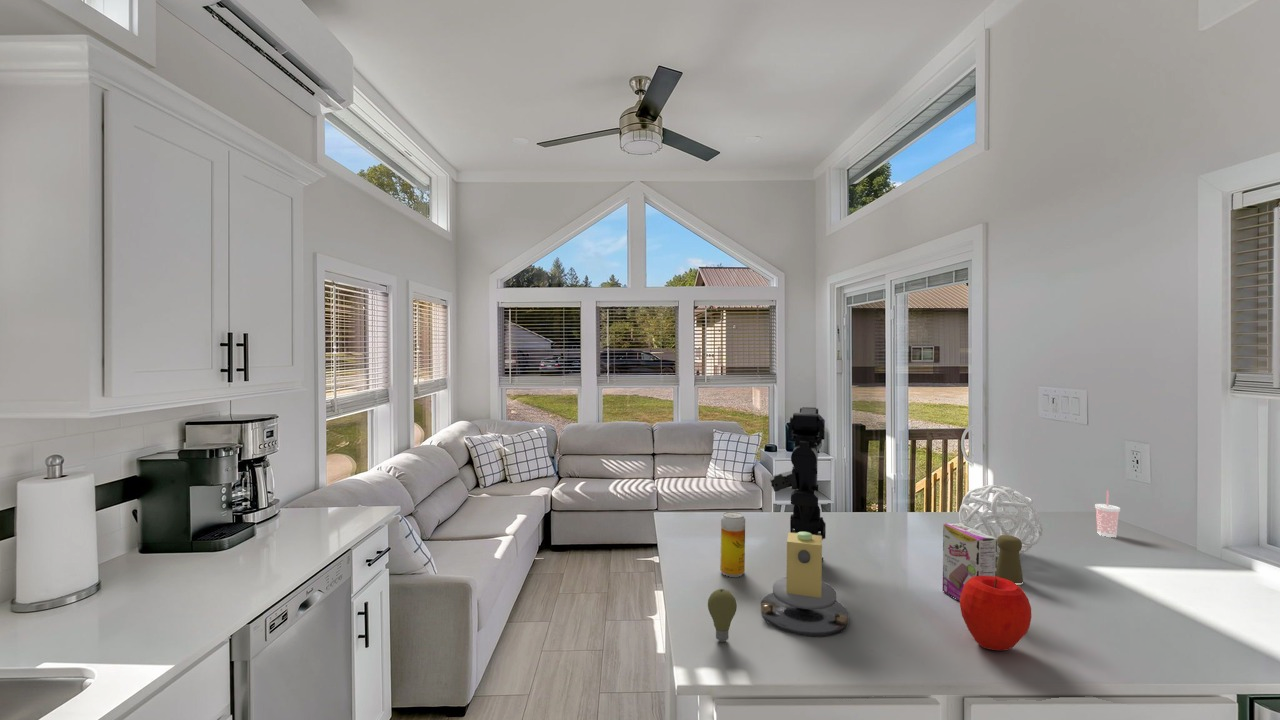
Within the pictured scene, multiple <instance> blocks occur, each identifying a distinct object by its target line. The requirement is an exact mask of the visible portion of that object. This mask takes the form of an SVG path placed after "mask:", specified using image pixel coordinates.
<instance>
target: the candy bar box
mask: <svg viewBox="0 0 1280 720" xmlns="http://www.w3.org/2000/svg"><path fill="white" fill-rule="evenodd" d="M942 533H943V535H942V541H943V542H942V544H943V545H942V554H943V555H942V592H943V591H944V592H945V594H946V593H947V594H946V595H948V594H949V595H950V596H949V595H948V596H949V597H951V596H952V597H951V598H953V597H954V598H956V599H957V600H959V601H960V595H961V592H962V589H963V587H964V585H965V583H966V582H967V581H968V580H969V579H970V578H971V577H975V576H994V577H996V566H997V558H996V557H997V556H996V555H998V554H997V539H996V538H995V537H992V536H990V535H987V534H985V533H983V532H980V531H978V530H976V529H974V527H971V526H969V525H965V524H962V523H960V522H950V523H948V522H946V523H943V532H942ZM944 592H943V593H944ZM954 598H953V599H954ZM956 599H955V600H956ZM957 600H956V601H957ZM959 601H958V602H959Z"/></svg>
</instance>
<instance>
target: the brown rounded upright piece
mask: <svg viewBox="0 0 1280 720" xmlns="http://www.w3.org/2000/svg"><path fill="white" fill-rule="evenodd" d="M997 545H998V547H999V548H1000V549H999V553H998V554H997V555H998V558H997V559H996V577H1000V578H1004V579H1007V580H1010V581H1012V582H1014V583H1022V582H1023V583H1024V578H1023V577H1024V576H1023V572H1022V563H1021V554H1019V551H1020V550H1021V548H1022V542H1021V540H1020V539H1019V537H1018V538H1017V537H1014V535H1011V536H1010V535H1001V536H999V537H998V539H997Z"/></svg>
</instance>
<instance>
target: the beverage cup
mask: <svg viewBox="0 0 1280 720" xmlns="http://www.w3.org/2000/svg"><path fill="white" fill-rule="evenodd" d="M1109 491H1110V490H1109V489H1107V490H1106V503H1095V504H1094V509H1095V515H1096V516H1095V517H1096V531H1097V532H1096V533H1098V534H1099V536H1101V535H1102V536H1101V537H1104V536H1106V537H1105V538H1111V537H1115V538H1117V534H1118V524H1119V523H1118V522H1119V514H1120V512H1121V507H1120V506H1116V505H1113V504H1109V501H1110V500H1109V497H1110V495H1109ZM1098 534H1097V535H1098Z"/></svg>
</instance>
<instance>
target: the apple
mask: <svg viewBox="0 0 1280 720" xmlns="http://www.w3.org/2000/svg"><path fill="white" fill-rule="evenodd" d="M1025 593H1026V592H1025V591H1024V590H1023V588H1022V586H1020V585H1016V584H1015V583H1014V582H1012V581H1010V580H1007V579H1004V578H1000V577H994V576H975V577H971V578H970V579H969V580H968V581H967V582H966V583H965V585H964V587H963V589H962V592H961V595H960V602H959V601H958V603H959V608H960V613H961V616H962V619H963V621H964V623H965V625H966V627H967V630H968V631H969V633H970V635H971V637H973V639H974V640H975V642H976V643H977V644H978V645H979V646H981V647H983V649H986V650H987V649H988V650H992V651H1008V650H1010V649H1012V648H1013V647H1015V646H1016V645H1017V644H1018V643H1019V642H1020V640H1021V639H1023V638H1024V637H1025V636H1026V634H1027V632H1028V630H1029V629H1030V626H1031V621H1032V606H1031V604H1030V600H1029V598H1028V596H1027V595H1026V594H1025Z"/></svg>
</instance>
